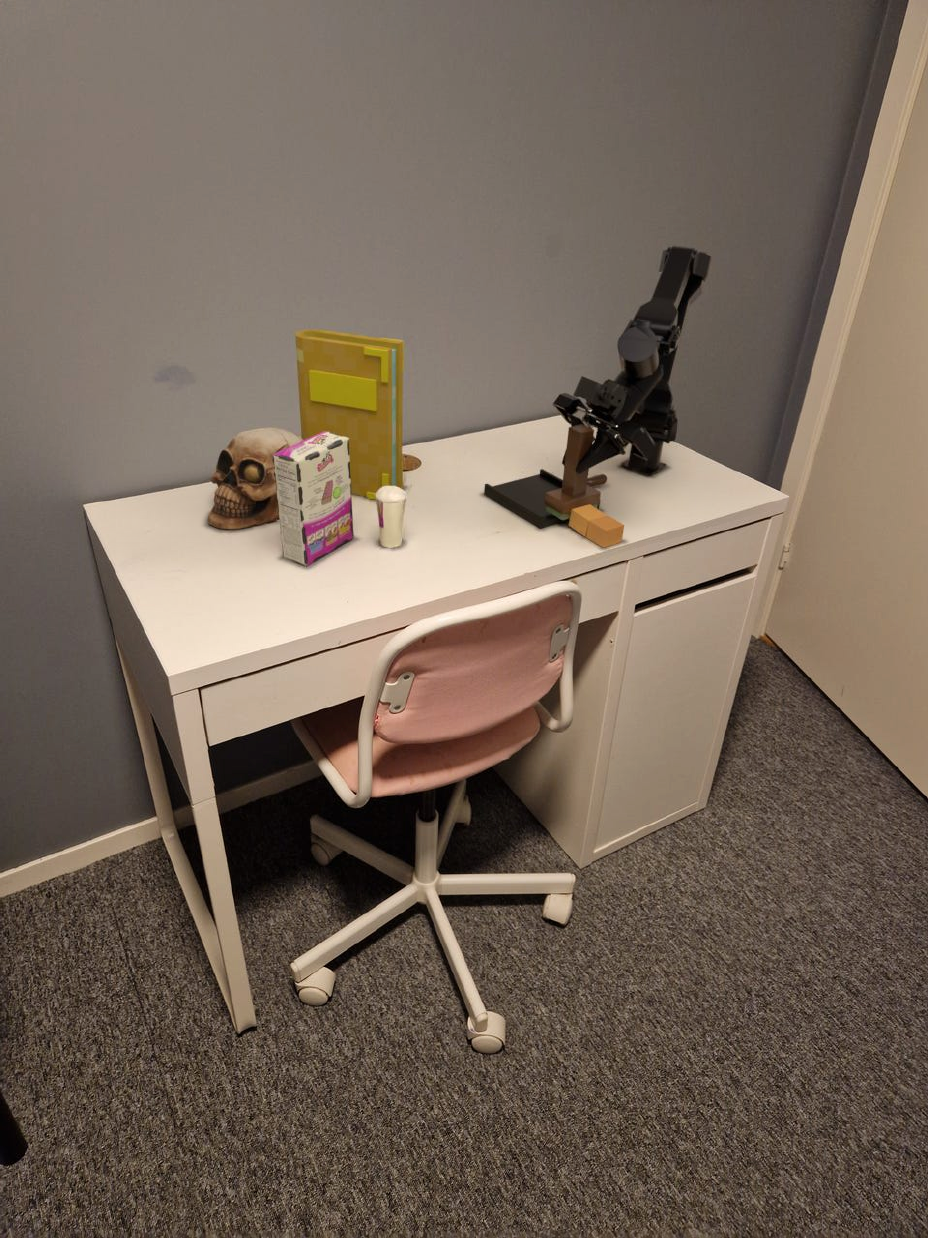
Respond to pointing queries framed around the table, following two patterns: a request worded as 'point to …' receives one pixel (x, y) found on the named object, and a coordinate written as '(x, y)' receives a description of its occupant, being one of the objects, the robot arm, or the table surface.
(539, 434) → the table surface
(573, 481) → the scrub brush
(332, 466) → the candy bar box
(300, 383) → the book
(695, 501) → the table surface
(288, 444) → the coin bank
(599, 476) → the griddle
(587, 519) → the block
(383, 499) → the milkshake
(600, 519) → the orange square block
